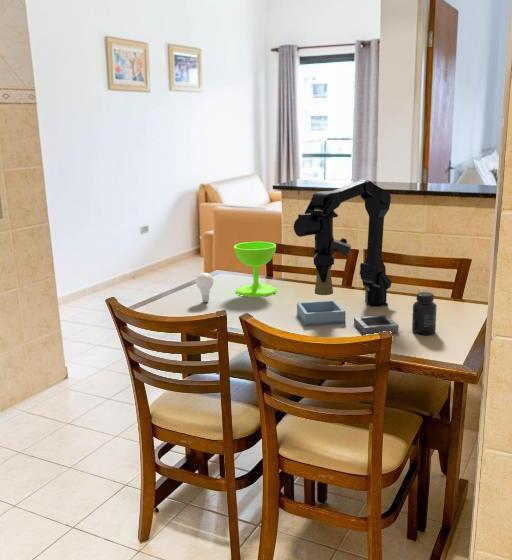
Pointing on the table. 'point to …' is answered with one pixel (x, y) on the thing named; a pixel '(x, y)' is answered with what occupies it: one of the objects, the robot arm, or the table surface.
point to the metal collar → (375, 324)
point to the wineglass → (255, 266)
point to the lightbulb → (204, 285)
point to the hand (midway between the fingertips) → (323, 280)
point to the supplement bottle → (424, 314)
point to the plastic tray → (320, 313)
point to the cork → (324, 284)
